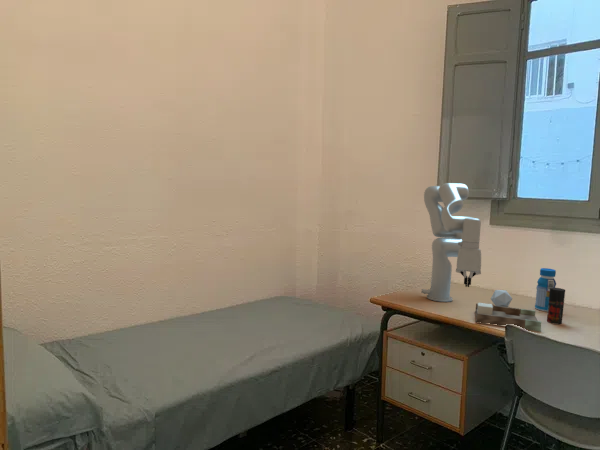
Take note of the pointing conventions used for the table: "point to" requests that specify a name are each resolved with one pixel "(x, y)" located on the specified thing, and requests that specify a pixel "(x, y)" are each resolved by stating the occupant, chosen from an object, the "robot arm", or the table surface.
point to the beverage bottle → (544, 288)
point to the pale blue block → (485, 308)
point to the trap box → (510, 317)
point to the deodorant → (556, 305)
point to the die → (501, 298)
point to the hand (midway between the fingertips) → (467, 286)
